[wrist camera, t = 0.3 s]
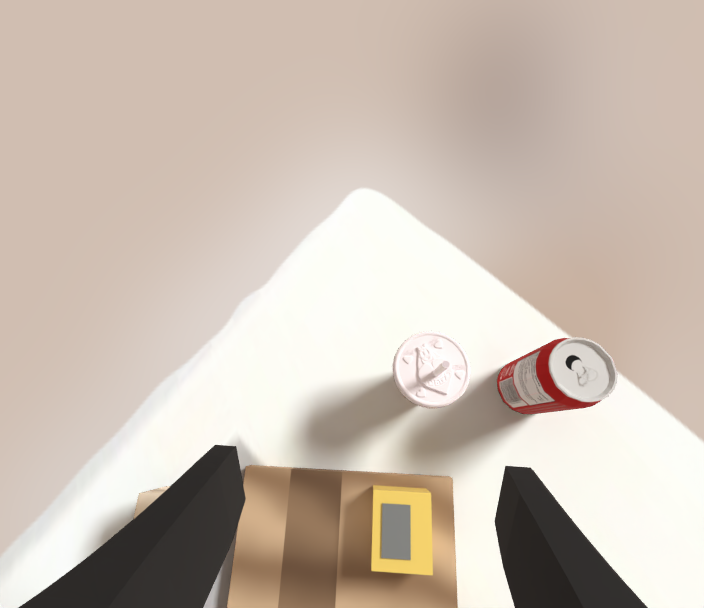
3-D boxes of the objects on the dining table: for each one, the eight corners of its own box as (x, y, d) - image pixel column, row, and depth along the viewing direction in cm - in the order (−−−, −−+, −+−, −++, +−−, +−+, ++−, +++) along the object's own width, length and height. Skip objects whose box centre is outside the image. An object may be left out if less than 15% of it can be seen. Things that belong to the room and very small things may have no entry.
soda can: (560, 389, 38) (639, 370, 27) (526, 426, 37) (594, 422, 26) (518, 351, 40) (577, 318, 29) (484, 385, 39) (532, 365, 28)
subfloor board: (458, 716, 30) (462, 730, 29) (221, 694, 31) (213, 706, 30) (449, 476, 36) (452, 478, 35) (250, 465, 37) (245, 466, 36)
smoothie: (404, 424, 38) (424, 419, 25) (377, 368, 40) (381, 336, 27) (458, 397, 39) (505, 378, 25) (429, 344, 41) (458, 300, 27)
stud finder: (427, 563, 32) (433, 576, 30) (371, 559, 33) (371, 571, 30) (426, 488, 34) (431, 493, 32) (373, 485, 35) (373, 489, 32)
